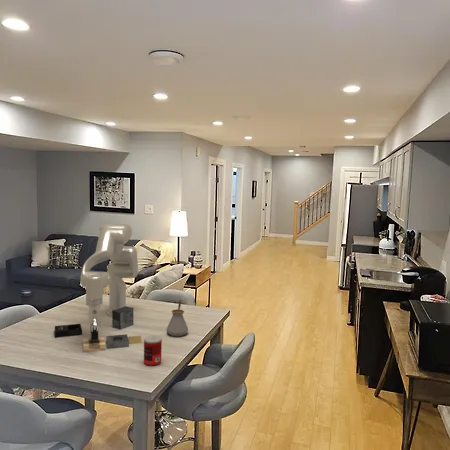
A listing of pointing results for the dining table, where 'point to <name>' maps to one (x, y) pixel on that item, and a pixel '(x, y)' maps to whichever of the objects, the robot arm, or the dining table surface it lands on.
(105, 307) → the dining table surface
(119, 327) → the small box
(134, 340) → the yellow rectangular block
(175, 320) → the coffee pot
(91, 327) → the clear plastic bottle
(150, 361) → the canned food
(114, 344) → the socket
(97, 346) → the frame
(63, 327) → the battery charger
